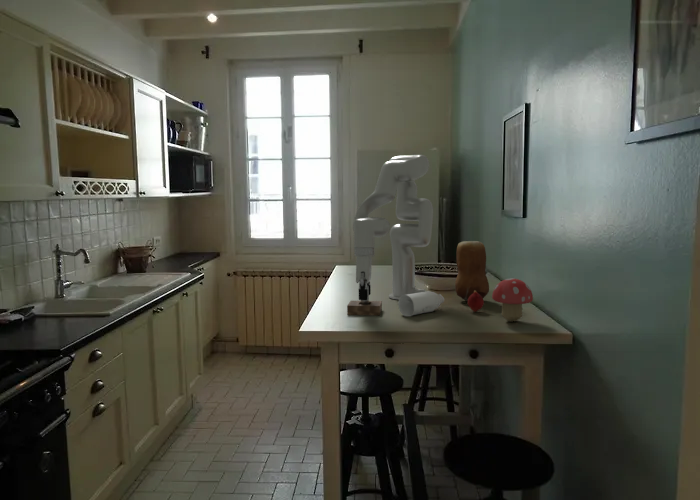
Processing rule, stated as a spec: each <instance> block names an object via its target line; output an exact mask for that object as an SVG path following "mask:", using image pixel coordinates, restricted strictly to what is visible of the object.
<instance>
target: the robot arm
mask: <svg viewBox="0 0 700 500" xmlns="http://www.w3.org/2000/svg"><path fill="white" fill-rule="evenodd" d="M429 169H430V161H429V159H428V157H427V155H424V154H409V155H407V154H406V155H397V156H393V157H391V158H390V159H389V161H386V162H384V163H383V164H382V166H381V168H380V172H379V175H378V178H377V182H376V183H375V187H374V191H373V192H372V193H370V195H368V196H367V197H366V198H365V199H364V200H363V201H362V202H361V203H360V205H359V206H357V207H358V208H357V209H356V213H355V216H354V219H353V223H352V230H353V239H354V240H353V250H354V254H353V255H354V257H356V260H355V261H356V262H355V263H356V264H355V283H356V284H358V283H359V284H358V301H361V300H367V299H368V289H367V286H369V296H370V295H371V293H372V292H371V291H372V290H371V287H372V285H371V280H372V273H373V272H372V269H373V268H372V267H373V266H372V262H373V260H372V257H375V238H383V237H385V236H387V235H388V234H389V239H390V240H389V241H390V245H391V253H392V255H391V257H392V258H391V260H392V261H391V264H392V265H391V266H392V267H391V269H392V271H391V274H392V276H391V277H392V284H391V287H392V288H391V289H392V291H391V293H389V294H388V298H389V299H392V300H397V301H399V297H401V296H402V295H407V294H413V293H419V292H425V291H426V288H425V289H424V288H417V287H416V285H415V284H416V283H415V281H416V279H415V278H416V277H415V275H416V274H415V273H416V271H415V270H416V269H415V267H416V266H415V263H416V262H415V261H416V260H415V259H416V257H415V253H414V251H413V250H412V248H411V247H415V248H424V247H427V246H429V244H430V243H431V240H432V231H433V222H434V221H433V219H434V207H433V204H432V203H433V202H432V201H431V200H430V199H428V198H424V197H418V185H417V184H416V182H415V181H416V180H418V179H420V178H422V177H423V176H425V175H426V174H427V173H428V171H429ZM395 198H396V202H395V217H396V218H397V219H398V220H400V221H404V222H405V221H407V222H413V221H414V222H418V223H397V224H393V225H392V226H391V224H390V221H389V220H388V219H386V218H385V217H379V216H377V217H376V216H375V217H374V216H370V215H371V214H372V213H373V212H374V211H375V210H377V209H379V208H381V207H383V206H385V205H388V204H391V202H393V201H394V199H395Z"/></svg>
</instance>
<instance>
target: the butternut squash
mask: <svg viewBox="0 0 700 500" xmlns="http://www.w3.org/2000/svg"><path fill="white" fill-rule="evenodd" d="M456 267H457V276H456V278H455V282H454V289H455V292H456V296H458V297H460V298H461V299H462V300H464V301H466V302H468V298H469V297H470V296H471V295H472V294H473V293H474V291H476V292H477V293H478V294H480V295H481V296H482V298H483V299H484V298H485V297H486V296H487V295H488V294H489V291H490V283H489V279H488V277H487V274H486V269H487V252H486V247H485V245H484V243H483V242H481V241H478V240H468V241H466V240H463V241H461V242H459V243H458V244H457V247H456Z"/></svg>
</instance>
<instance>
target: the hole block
mask: <svg viewBox="0 0 700 500" xmlns="http://www.w3.org/2000/svg"><path fill="white" fill-rule="evenodd" d="M346 306H347V310H346V314H347V316H348V315H349V316H376V317H377V316H381V313H382V312H383V311H382V310H383V301H382V300H369V305H361V300H350V301H349V303H348V304H347V305H346Z"/></svg>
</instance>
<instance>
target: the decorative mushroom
mask: <svg viewBox="0 0 700 500" xmlns="http://www.w3.org/2000/svg"><path fill="white" fill-rule="evenodd" d="M533 295H534V294H533V291H532V290H531V287H530V286H529V285H528V284H527V283H526V282H525V281H523V280H521V279H519V278H513V277H511V278H505V279H503V280H501V281H499V282H498V283H497V284H496V285H495V287H494V289H493V291H492V296H491V298H492V300H493V301H494V302H497V303H501V316H502V317H503V319H505V320H506V321H508V322H511V323H513V321H514V322H516V321H518V320H520V319H521V318H523V305H526V304H529V303H531V302H533V300H534V299H533V298H534V297H533Z"/></svg>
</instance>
